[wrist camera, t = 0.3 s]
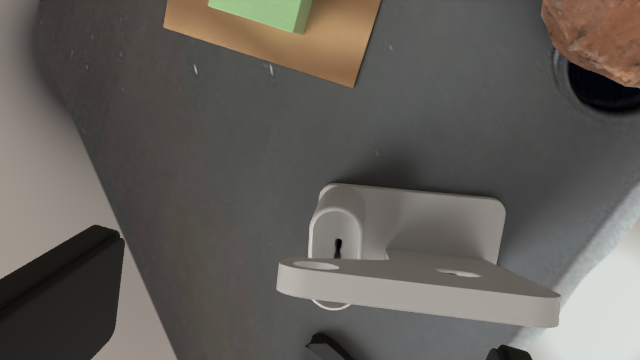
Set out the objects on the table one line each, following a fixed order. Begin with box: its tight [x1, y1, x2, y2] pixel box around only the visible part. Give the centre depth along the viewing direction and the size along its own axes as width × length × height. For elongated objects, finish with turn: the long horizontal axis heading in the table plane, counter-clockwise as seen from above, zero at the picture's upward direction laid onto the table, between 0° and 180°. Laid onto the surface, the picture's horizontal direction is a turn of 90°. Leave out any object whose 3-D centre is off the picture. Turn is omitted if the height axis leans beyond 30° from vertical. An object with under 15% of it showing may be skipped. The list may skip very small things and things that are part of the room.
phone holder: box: [277, 183, 561, 328], centre depth 33 cm, size 17×10×18 cm, turn 87°
